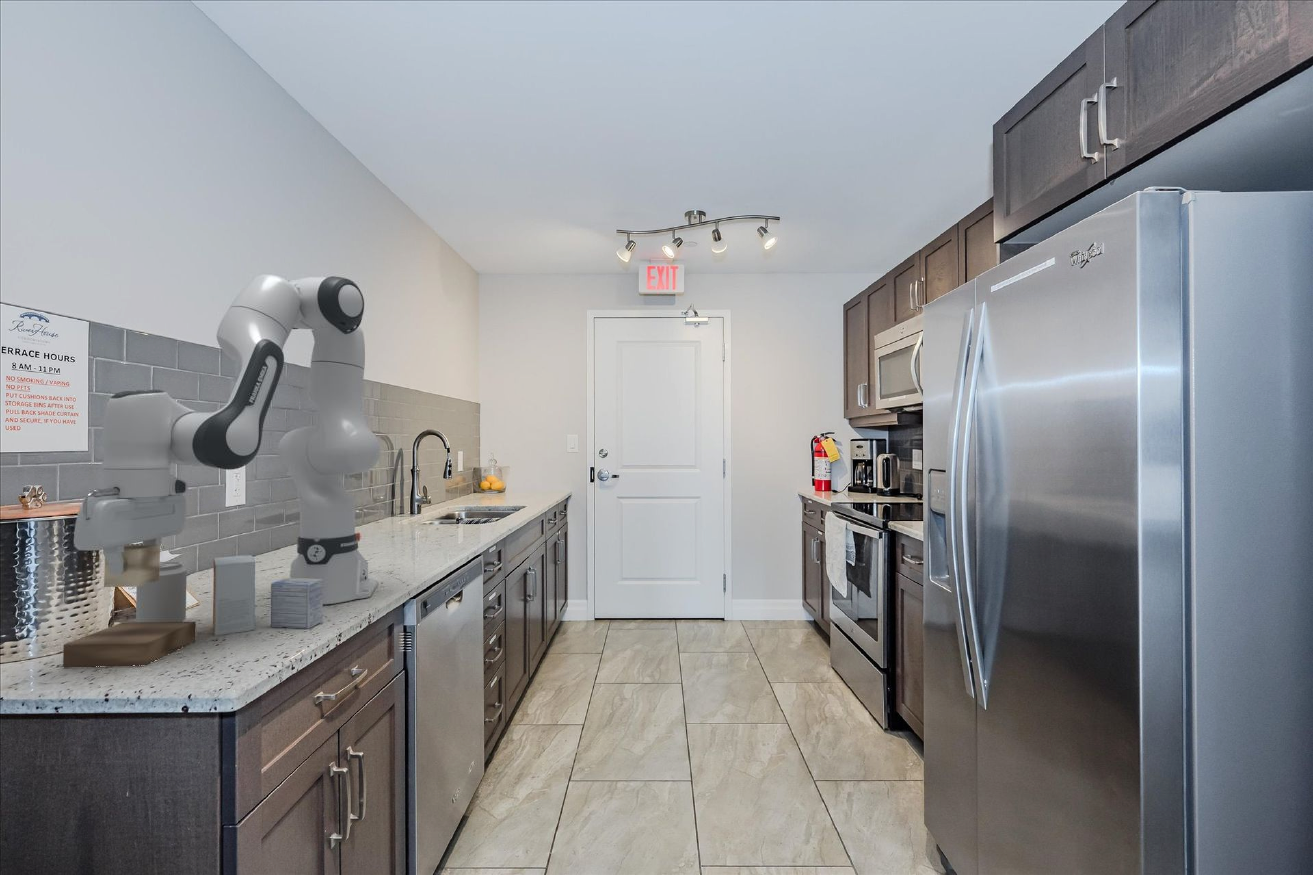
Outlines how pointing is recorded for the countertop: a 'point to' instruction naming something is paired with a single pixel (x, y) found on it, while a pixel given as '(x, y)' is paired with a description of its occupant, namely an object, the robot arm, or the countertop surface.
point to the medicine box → (296, 602)
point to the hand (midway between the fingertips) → (132, 569)
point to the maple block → (136, 567)
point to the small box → (234, 594)
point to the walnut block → (129, 644)
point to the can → (163, 595)
